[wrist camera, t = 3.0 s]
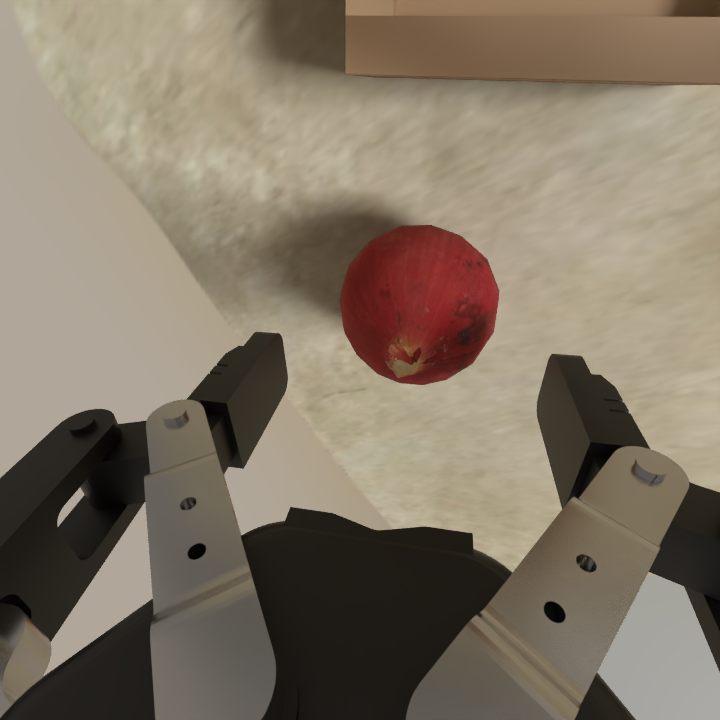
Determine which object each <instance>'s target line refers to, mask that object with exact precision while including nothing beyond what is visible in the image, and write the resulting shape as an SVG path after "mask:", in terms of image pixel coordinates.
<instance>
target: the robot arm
mask: <svg viewBox="0 0 720 720" xmlns="http://www.w3.org/2000/svg"><path fill="white" fill-rule="evenodd" d="M287 381H288V374H287V367H286V360H285V353H284V346H283V340H282V337H281V335H280V334H279V333H267V332H255V333H254V334H253V335H252V336H251V338H250V339H249V340H248V341H247V342H246V344H245V345H244V346H238V347H236V348H234V349H233V350H231V351H229V352H228V353H226V354H225V355H224V356H223V357H222V359H221V360H220V361H219V362H218V363H217V366H215V367H214V368H213V369H212V370H211V371H210V374H208V375H207V376H206V377H205V378H204V380H203V381H202V382H201V383H200V384H199V386H198V387H197V388H196V389H195V390H194V391H193V392H192V394H191V395H190V396H189V397H188V398H187V399H186V400H177V401H173V402H170V403H167V404H165V405H163V406H161V407H159V408H158V409H156V410H155V411H154V412H153V413H152V414H151V415H150V416H149V417H148V419H147V421H141V422H133V423H125V424H118V423H117V421H116V419H115V416H114V414H113V413H112V412H110V411H108V410H105V409H93V410H87V411H84V412H81V413H78V414H75V415H73V416H71V417H69V418H67V419H66V420H64V421H63V422H61V423H60V424H59V425H58V426H57V427H56V428H55V429H53V430H52V431H51V432H50V433H49V434H48V435H47V436H46V437H45V438H44V439H43V440H41V441H40V442H39V443H38V444H37V445H36V446H35V447H34V448H33V449H32V450H31V451H29V452H28V453H27V454H26V455H25V456H24V457H23V458H22V459H21V460H20V461H19V462H17V463H16V464H15V465H14V466H13V467H12V468H11V469H10V470H9V471H8V472H7V473H6V474H5V475H4V476H2V477H1V478H0V720H636V719H635V718H634V717H633V716H632V715H631V713H630V712H629V711H628V710H627V708H626V707H625V706H624V705H623V704H622V702H621V701H620V700H619V699H618V697H617V696H616V695H615V694H614V693H613V691H612V690H611V689H610V688H609V686H608V685H607V684H606V683H605V682H604V680H603V679H602V678H601V677H600V675H599V674H598V673H597V671H598V669H599V667H600V665H601V663H602V661H603V659H604V657H605V656H606V653H607V652H608V649H609V648H610V646H611V644H612V641H613V639H614V638H615V636H616V634H617V632H618V630H619V628H620V626H621V624H622V622H623V620H624V618H625V616H626V614H627V613H628V611H629V609H630V607H631V605H632V603H633V601H634V599H635V597H636V595H637V593H638V591H639V589H640V587H641V585H642V583H643V581H644V579H645V577H646V575H647V573H648V572H651V573H653V574H656V575H658V576H661V577H663V578H665V579H668V580H670V581H673V582H675V583H678V584H680V585H682V586H684V587H685V589H686V591H687V594H688V596H689V599H690V601H691V604H692V606H693V609H694V611H695V613H696V616H697V618H698V621H699V623H700V625H701V628H702V630H703V632H704V635H705V638H706V640H707V642H708V645H709V647H710V649H711V652H712V654H713V657H714V659H715V662H716V664H717V666H718V669H719V671H720V493H719V492H716V491H713V490H710V489H707V488H704V487H701V486H698V485H695V484H692V483H690V482H689V479H688V477H687V475H686V473H685V472H684V471H683V469H682V468H681V467H680V466H679V465H678V464H677V463H675V462H674V461H673V460H671V459H670V458H668V457H667V456H665V455H663V454H661V453H659V452H656V451H654V450H651V449H650V448H649V446H648V444H647V442H646V441H645V439H644V437H643V435H642V433H641V432H640V430H639V428H638V426H637V425H636V423H635V421H634V419H633V418H632V416H631V414H629V413H628V412H629V410H628V409H627V407H626V405H625V403H622V398H621V396H620V395H619V393H618V391H617V389H616V388H615V386H613V385H612V384H611V383H610V382H608V381H607V380H606V379H605V378H604V377H602V376H601V375H593V374H591V373H590V371H589V369H588V367H587V365H586V363H585V361H584V359H583V357H582V356H575V355H561V354H552V355H551V356H550V358H549V360H548V363H547V367H546V371H545V374H544V378H543V382H542V385H541V389H540V392H539V396H538V401H537V418H538V422H539V425H540V429H541V433H542V436H543V440H544V444H545V447H546V451H547V455H548V458H549V462H550V466H551V469H552V473H553V477H554V480H555V484H556V488H557V491H558V495H559V499H560V502H561V506H562V511H561V512H560V513H559V515H558V516H557V517H556V518H555V520H554V521H553V522H552V523H551V525H550V526H549V527H548V529H547V530H546V531H545V532H544V534H543V535H542V536H541V537H540V539H539V540H538V541H537V543H536V544H535V545H534V546H533V548H532V549H531V550H530V551H529V553H528V554H527V555H526V556H525V558H524V559H523V560H522V562H521V563H520V564H519V565H518V567H517V568H516V569H515V570H514V572H513V573H512V572H511V571H510V570H509V569H507V568H506V567H505V566H504V565H502V564H501V563H499V562H498V561H496V560H495V559H493V558H492V557H490V556H488V555H486V554H484V553H482V552H480V551H477V550H475V549H473V535H472V533H466V532H459V531H452V530H445V529H438V528H431V527H415V528H404V529H392V530H381V531H380V530H379V531H378V530H373V529H370V528H368V527H365V526H363V525H360V524H358V523H356V522H353V521H351V520H348V519H346V518H343V517H340V516H338V515H336V514H333V513H327V512H321V511H313V510H306V509H299V508H293V507H290V510H289V512H288V515H287V518H286V520H285V521H282V522H276V523H271V524H267V525H265V526H261V527H258V528H256V529H254V530H251V531H249V532H247V533H245V534H244V535H242V536H241V532H240V529H239V526H238V522H237V519H236V515H235V512H234V509H233V505H232V502H231V498H230V495H229V491H228V488H227V484H226V481H225V478H224V473H225V472H226V470H227V468H228V467H236V468H244V467H245V465H246V463H247V461H248V459H249V457H250V456H251V454H252V452H253V450H254V448H255V447H256V445H257V443H258V441H259V439H260V438H261V436H262V434H263V432H264V430H265V428H266V427H267V425H268V423H269V421H270V419H271V417H272V415H273V414H274V412H275V410H276V408H277V406H278V405H279V402H280V401H281V399H282V397H283V395H284V394H285V391H286V388H287ZM80 487H81V489H82V491H83V492H84V494H85V495H84V496H83V498H82V499H81V500H80V501H79V502H78V504H77V505H76V506H75V507H74V509H73V510H72V511H71V512H70V513H69V515H68V516H67V517H66V518H65V519H64V521H63V522H62V523H61V524H60V525H59V527H57V519H58V516H59V513H60V511H61V509H62V507H63V506H64V505H65V504H66V503H67V501H68V500H69V499H70V498H71V497H72V496H73V494H74V493H75V492H76V491H77V490H78V489H79V488H80ZM144 502H146V514H147V527H148V541H149V554H150V566H151V579H152V593H153V599H151V600H150V601H149V602H147V603H146V604H145V605H143V606H142V607H140V608H139V609H137V610H136V611H135V612H133V613H132V614H131V615H129V616H128V617H126V618H125V619H124V620H122V621H121V622H119V623H118V624H117V625H115V626H114V627H112V628H111V629H110V630H108V631H107V632H105V633H104V634H103V635H101V636H100V637H98V638H97V639H96V640H94V641H93V642H91V643H90V644H89V645H87V646H86V647H84V648H83V649H82V650H80V651H79V652H77V653H76V654H75V655H73V656H72V657H71V658H69V659H68V660H66V661H65V662H63V663H62V664H61V665H59V666H58V667H56V668H55V669H54V670H52V671H51V672H49V673H48V674H47V675H45V676H43V674H44V673H45V671H46V669H47V667H48V663H49V661H50V657H51V643H50V642H51V641H52V639H53V638H54V636H55V634H56V633H57V632H58V630H59V629H60V627H61V626H62V624H63V623H64V621H65V620H66V618H67V617H68V615H69V614H70V612H71V611H72V609H73V608H74V606H75V605H76V603H77V602H78V600H79V599H80V597H81V596H82V594H83V593H84V591H85V590H86V588H87V587H88V586H89V584H90V583H91V581H92V580H93V578H94V576H95V575H96V574H97V572H98V571H99V569H100V568H101V566H102V565H103V563H104V562H105V560H106V559H107V557H108V556H109V554H110V553H111V551H112V550H113V548H114V547H115V545H116V544H117V542H118V540H119V539H120V538H121V536H122V535H123V533H124V532H125V530H126V529H127V527H128V526H129V524H130V523H131V521H132V520H133V518H134V517H135V515H136V514H137V512H138V511H139V510H140V508H141V506H142V505H143V504H144Z"/></svg>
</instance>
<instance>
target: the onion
mask: <svg viewBox="0 0 720 720" xmlns="http://www.w3.org/2000/svg"><path fill="white" fill-rule="evenodd" d="M498 300H499V289H498V286H497V284H496V281H495V278H494V276H493V273H492V270H491V268H490V265H489V263H488V260H487V259H486V258H485V257H484V256H483V255H482V254H481V253H480V252H479V251H478V250H476V249H475V248H474V247H473V246H472V245H471V244H470V243H468V242H467V241H466V240H465V239H464V238H463V237H461V236H460V235H457V234H454V233H452V232H449V231H446V230H443V229H441V228H438V227H435V226H432V225H417V226H401V227H398V228H396V229H394V230H392V231H390V232H387V233H385V234H383V235H381V236H379V237H376V238H375V239H373V240H372V241H370V242H369V243H368V244H367V246H366V247H365V248H364V249H363V250H362V251H361V252H360V253H359V255H358V256H357V257H356V258H355V259H354V260H353V261H352V262H351V264H350V265H349V268H348V271H347V274H346V277H345V281H344V284H343V287H342V291H341V297H340V305H341V313H342V321H343V327H344V331H345V334H346V336H347V338H348V340H349V341H350V343H351V345H352V347H353V349H354V350H355V352H356V354H357V355H358V356H359V357H360V358H361V359H362V360H363V361H364V362H365V363H366V364H367V365H368V366H370V367H371V368H372V369H373V370H374V371H375V372H376V373H377V374H379V375H381V376H384V377H386V378H389V379H391V380H394V381H396V382H399V383H406V384H417V385H425V384H430V383H434V382H439V381H443V380H447V379H448V378H450V377H452V376H453V375H455V374H456V373H458V372H460V371H461V370H463V369H465V368H466V367H468V366H469V365H471V364H473V362H474V361H475V359H476V358H477V356H478V355H479V353H480V352H481V350H482V349H483V347H484V346H485V344H486V343H487V341H488V340H489V338H490V337H491V335H492V334H493V333H494V327H495V320H496V313H497V307H498Z"/></svg>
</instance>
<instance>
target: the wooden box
mask: <svg viewBox="0 0 720 720" xmlns="http://www.w3.org/2000/svg"><path fill="white" fill-rule="evenodd" d="M345 74H350V75H359V76H367V77H380V78H419V79H457V80H496V81H534V82H573V83H611V84H650V85H720V0H346V11H345Z"/></svg>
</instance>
